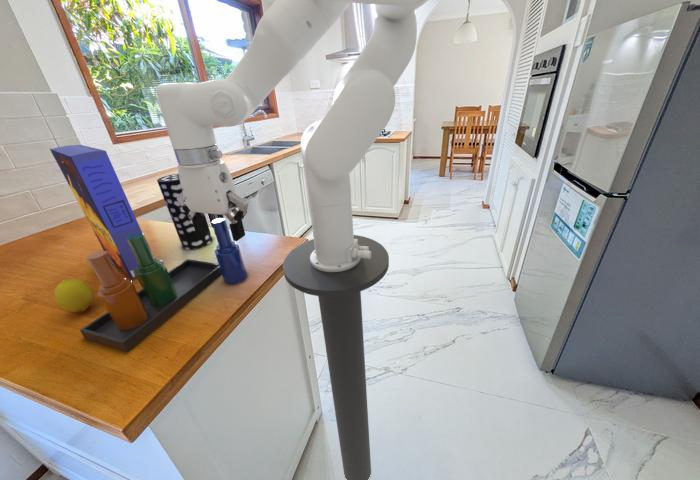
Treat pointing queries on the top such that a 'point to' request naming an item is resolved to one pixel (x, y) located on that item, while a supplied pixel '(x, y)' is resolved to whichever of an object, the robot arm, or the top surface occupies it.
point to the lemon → (73, 295)
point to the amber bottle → (117, 293)
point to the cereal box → (101, 200)
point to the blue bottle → (228, 254)
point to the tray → (188, 285)
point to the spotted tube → (181, 214)
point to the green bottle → (151, 272)
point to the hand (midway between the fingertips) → (221, 235)
